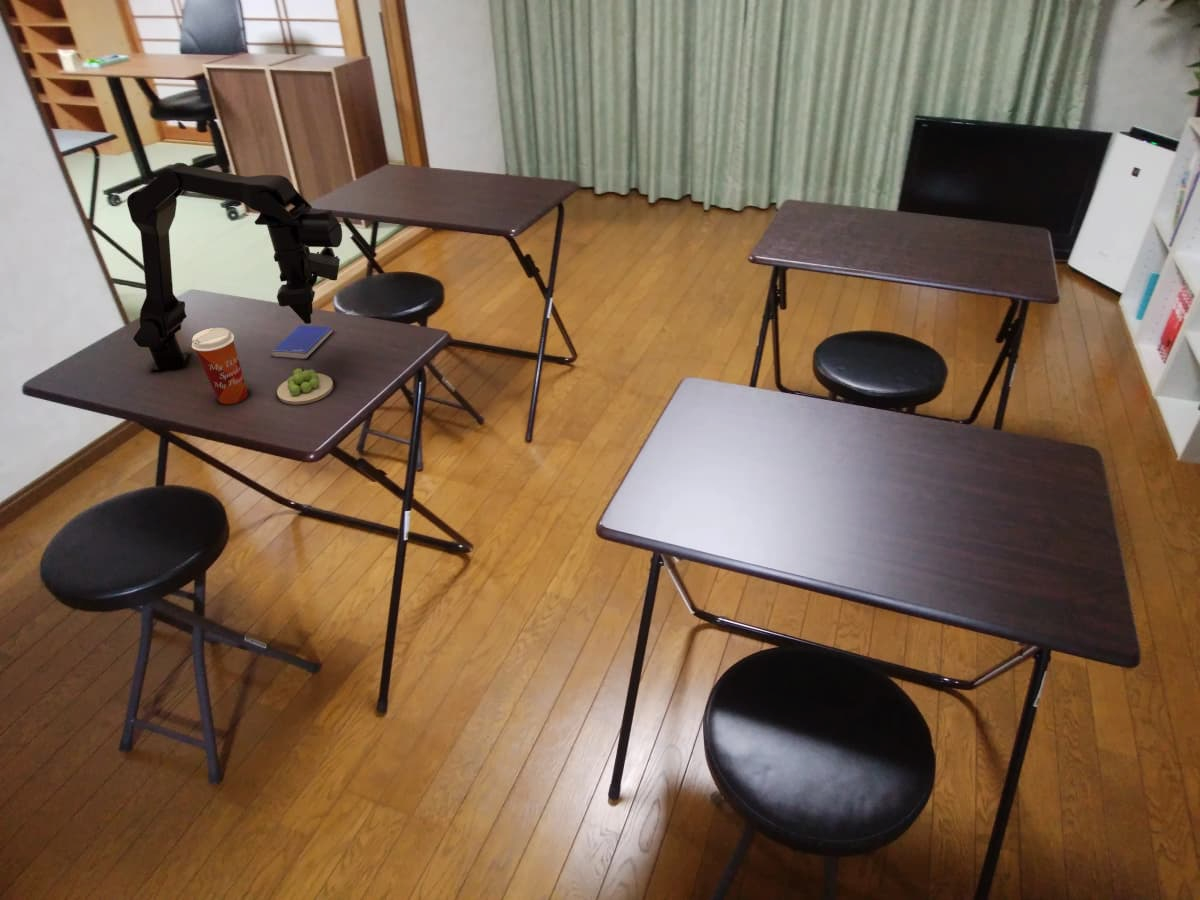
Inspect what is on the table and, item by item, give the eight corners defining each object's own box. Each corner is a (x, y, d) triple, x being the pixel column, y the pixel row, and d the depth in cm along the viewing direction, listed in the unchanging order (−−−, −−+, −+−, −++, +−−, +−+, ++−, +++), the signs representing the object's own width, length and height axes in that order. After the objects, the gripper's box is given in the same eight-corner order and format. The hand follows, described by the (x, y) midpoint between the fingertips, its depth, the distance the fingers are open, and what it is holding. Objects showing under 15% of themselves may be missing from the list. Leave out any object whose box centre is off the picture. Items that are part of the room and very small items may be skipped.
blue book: (305, 352, 166) (331, 326, 176) (270, 350, 167) (298, 324, 177) (306, 358, 167) (332, 333, 177) (272, 356, 168) (300, 330, 178)
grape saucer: (280, 380, 160) (279, 377, 159) (334, 373, 162) (333, 370, 161) (275, 408, 151) (274, 404, 151) (332, 400, 153) (331, 396, 153)
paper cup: (226, 411, 151) (202, 348, 142) (205, 399, 154) (181, 337, 146) (261, 394, 156) (240, 332, 147) (240, 382, 159) (218, 322, 151)
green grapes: (290, 379, 158) (284, 359, 155) (321, 375, 159) (315, 355, 157) (287, 398, 152) (280, 377, 150) (319, 393, 154) (313, 372, 151)
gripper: (329, 258, 141) (348, 334, 150) (334, 224, 156) (350, 295, 165) (266, 265, 139) (289, 341, 148) (277, 230, 154) (297, 301, 163)
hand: (309, 318), depth 156 cm, fingers open, 4 cm apart
